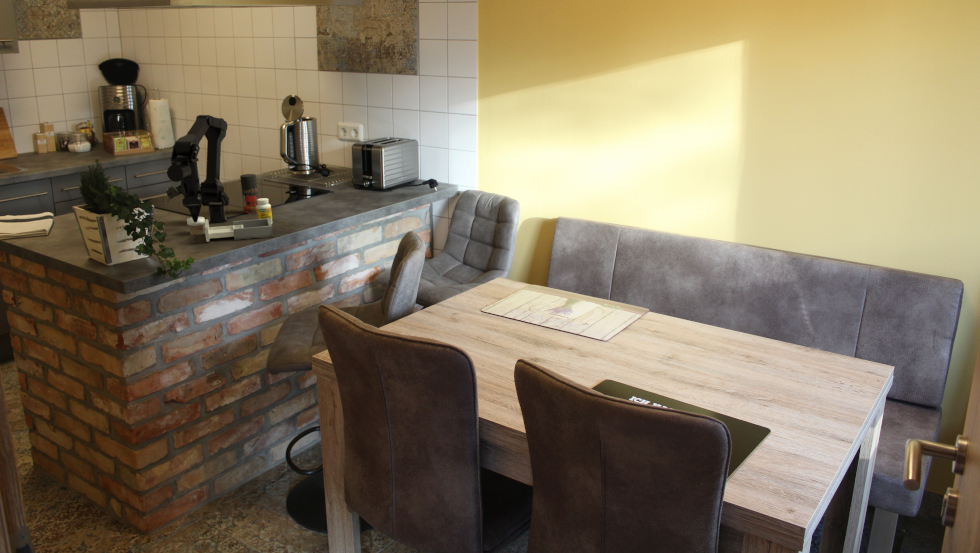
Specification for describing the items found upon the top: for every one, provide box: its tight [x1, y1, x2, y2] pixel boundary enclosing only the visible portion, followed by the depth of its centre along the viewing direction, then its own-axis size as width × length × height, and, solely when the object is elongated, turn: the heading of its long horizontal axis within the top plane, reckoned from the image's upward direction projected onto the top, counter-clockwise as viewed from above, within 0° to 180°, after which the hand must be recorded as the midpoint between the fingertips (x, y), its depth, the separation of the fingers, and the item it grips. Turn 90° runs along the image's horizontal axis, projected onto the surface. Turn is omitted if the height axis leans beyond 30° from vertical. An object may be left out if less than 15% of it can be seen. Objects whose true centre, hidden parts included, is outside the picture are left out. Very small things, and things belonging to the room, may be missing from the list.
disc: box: [186, 216, 205, 226], centre depth 262 cm, size 6×6×2 cm
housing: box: [232, 218, 274, 241], centre depth 261 cm, size 12×13×4 cm
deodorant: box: [240, 173, 259, 215], centre depth 291 cm, size 6×6×15 cm
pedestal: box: [188, 224, 205, 236], centre depth 263 cm, size 4×4×4 cm
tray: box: [203, 218, 243, 242], centre depth 258 cm, size 12×13×5 cm
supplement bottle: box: [256, 197, 274, 225], centre depth 274 cm, size 5×5×10 cm
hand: (195, 218), depth 262 cm, fingers open, 9 cm apart
